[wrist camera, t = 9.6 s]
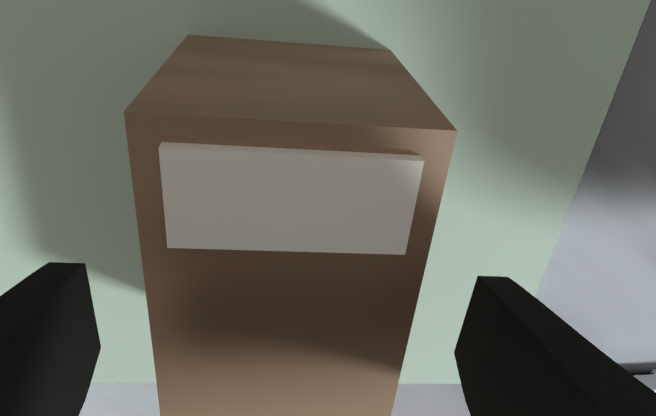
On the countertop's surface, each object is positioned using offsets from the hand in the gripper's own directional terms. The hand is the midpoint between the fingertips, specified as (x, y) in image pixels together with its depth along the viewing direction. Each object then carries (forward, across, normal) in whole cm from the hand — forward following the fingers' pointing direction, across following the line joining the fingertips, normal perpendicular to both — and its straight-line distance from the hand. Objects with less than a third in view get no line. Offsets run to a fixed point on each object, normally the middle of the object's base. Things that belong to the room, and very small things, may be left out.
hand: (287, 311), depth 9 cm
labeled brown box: (+4, 0, 0) cm, 4 cm away
